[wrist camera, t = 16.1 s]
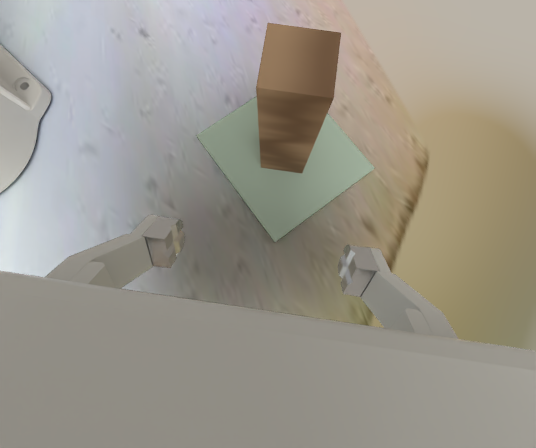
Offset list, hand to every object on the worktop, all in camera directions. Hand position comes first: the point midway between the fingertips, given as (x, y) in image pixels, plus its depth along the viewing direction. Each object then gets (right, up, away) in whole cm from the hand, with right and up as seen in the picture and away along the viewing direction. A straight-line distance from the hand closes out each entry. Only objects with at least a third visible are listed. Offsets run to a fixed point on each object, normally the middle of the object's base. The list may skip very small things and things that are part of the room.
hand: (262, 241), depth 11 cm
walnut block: (+2, +8, +10) cm, 13 cm away
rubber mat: (+2, +8, +11) cm, 14 cm away
